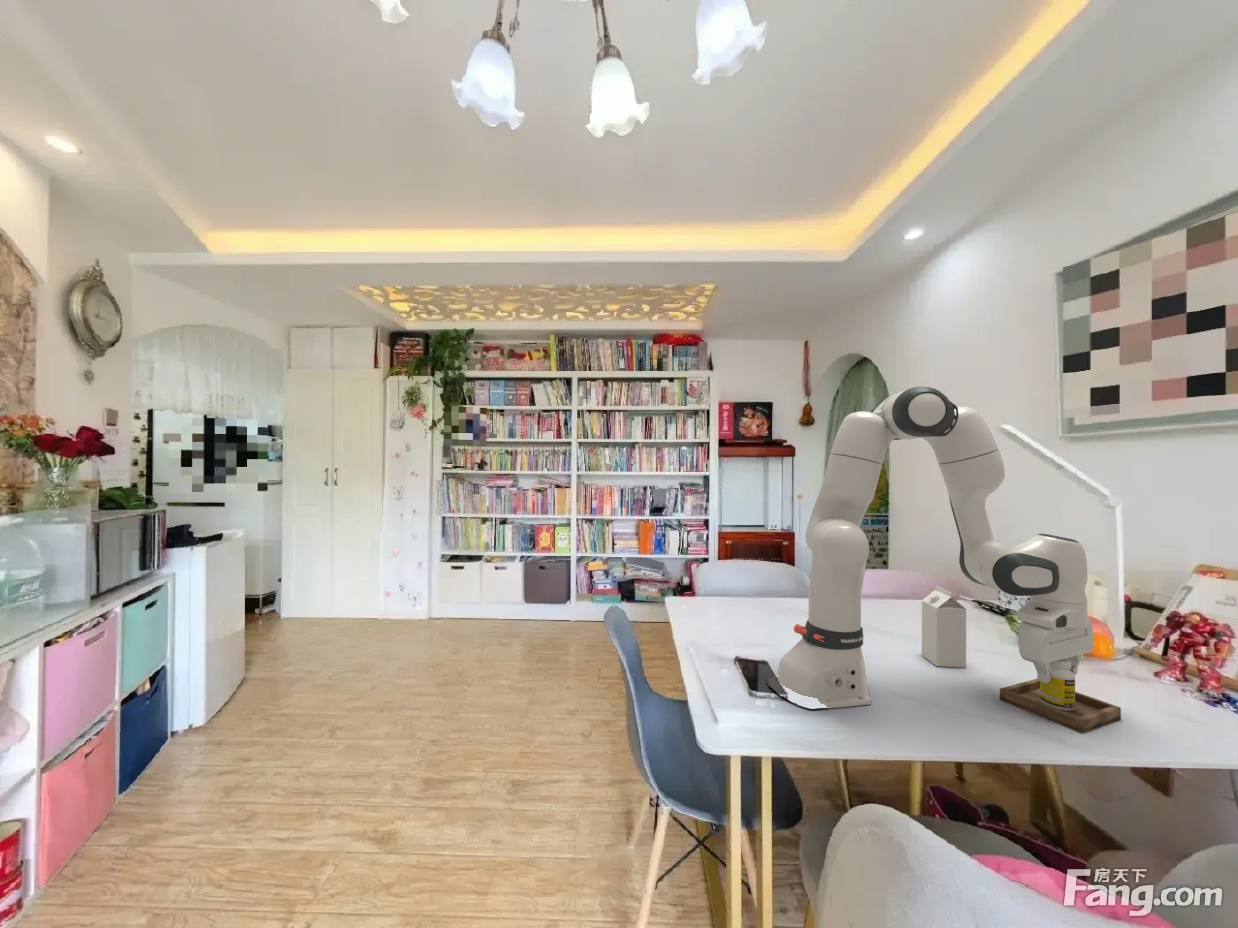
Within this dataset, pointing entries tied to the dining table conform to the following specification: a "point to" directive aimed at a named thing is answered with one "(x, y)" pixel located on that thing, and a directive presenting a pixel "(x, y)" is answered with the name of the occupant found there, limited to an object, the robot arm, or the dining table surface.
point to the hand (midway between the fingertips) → (1057, 677)
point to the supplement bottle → (1059, 686)
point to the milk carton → (943, 629)
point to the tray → (1080, 719)
